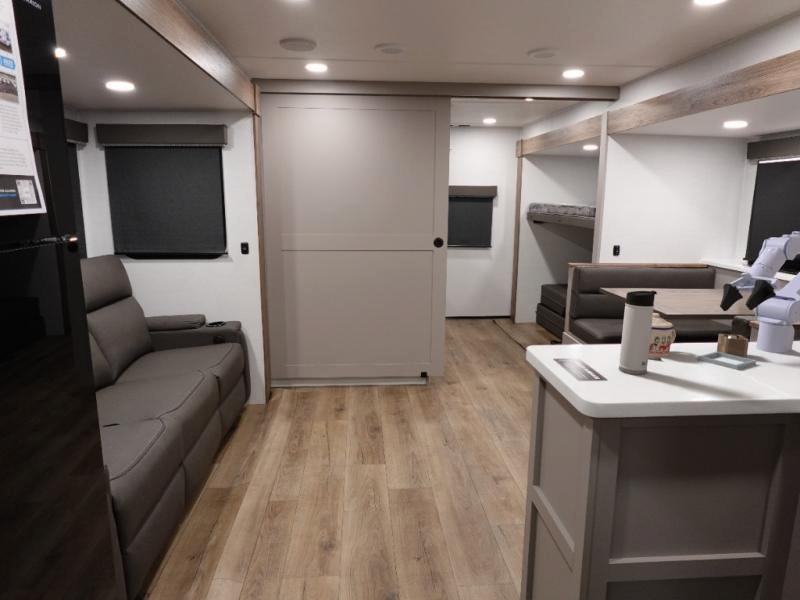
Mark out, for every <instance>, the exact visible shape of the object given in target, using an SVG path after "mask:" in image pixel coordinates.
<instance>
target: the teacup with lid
mask: <svg viewBox="0 0 800 600" xmlns="http://www.w3.org/2000/svg"><path fill="white" fill-rule="evenodd" d="M673 325H674V324H673V323H671V322H669V321H667V320H666V319H664V318H663V317H660V313H657V312H653V319H652V328H651V337H650V346H649V355H648V360H657V361H658V360H659V361H660V360H662V358H661V357H667V356H669V355H670V349H671V345H672V344H673V343H674V342H675V339H676V336H677V335H676V331H675V329H674V326H673Z"/></svg>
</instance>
